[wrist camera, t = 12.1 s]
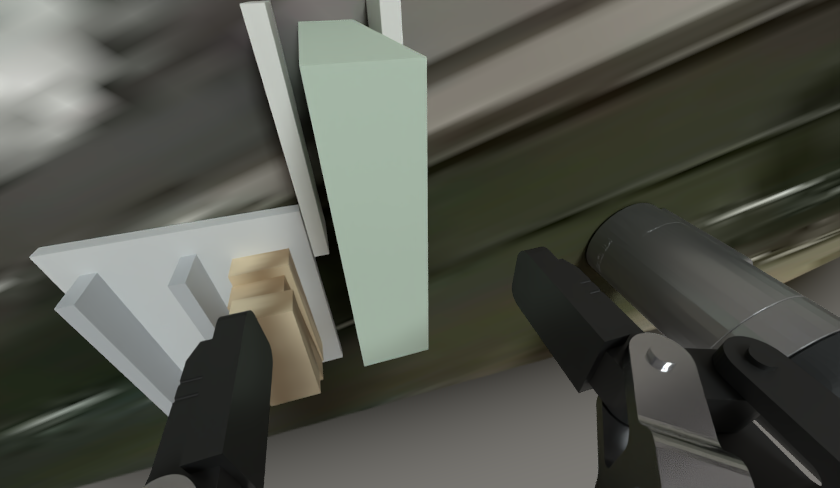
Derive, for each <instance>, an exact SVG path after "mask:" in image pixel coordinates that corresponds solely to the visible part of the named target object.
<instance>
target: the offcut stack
mask: <svg viewBox="0 0 840 488" xmlns="http://www.w3.org/2000/svg"><path fill="white" fill-rule="evenodd" d="M228 278H229V280H230V282H231V284H232V286H233V287H232V289H231V293H230V298H229V302H228V307H227V308H228V310H229V315H230V314H235V313H239V312H244V311H248V310H251V311H252V312H253V313H254V314H255V316H256V318H257V320H258V322H259V324H260V326H261V328H262V330H263V332H264V334H265V336H266V338H267V340H268V342H269V344H270V346H271V350H272V356H273V371H272V384H271V397H270V405H271V406H274V405H278V404H282V403H286V402H289V401H293V400H297V399H301V398H305V397H308V396H312V395H316V394H320V393H321V389H320V380H323V366H322V361H324V359H323V345H322V341H321V338H320V335H319V332H318V330H317V327H316V324H315V321H314V318H313V315H312V313H311V310H310V307H309V304H308V301H307V298H306V295H305V293H304V290H303V287H302V284H301V281H300V278H299V276H298V273H297V270H296V267H295V264H294V261H293V258H292V256H291V253H290V250H289V248H287V249H282V250H277V251H272V252H267V253H261V254H256V255H251V256H246V257H241V258H235V259H232V262H231V266H230V270H229V274H228Z"/></svg>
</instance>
